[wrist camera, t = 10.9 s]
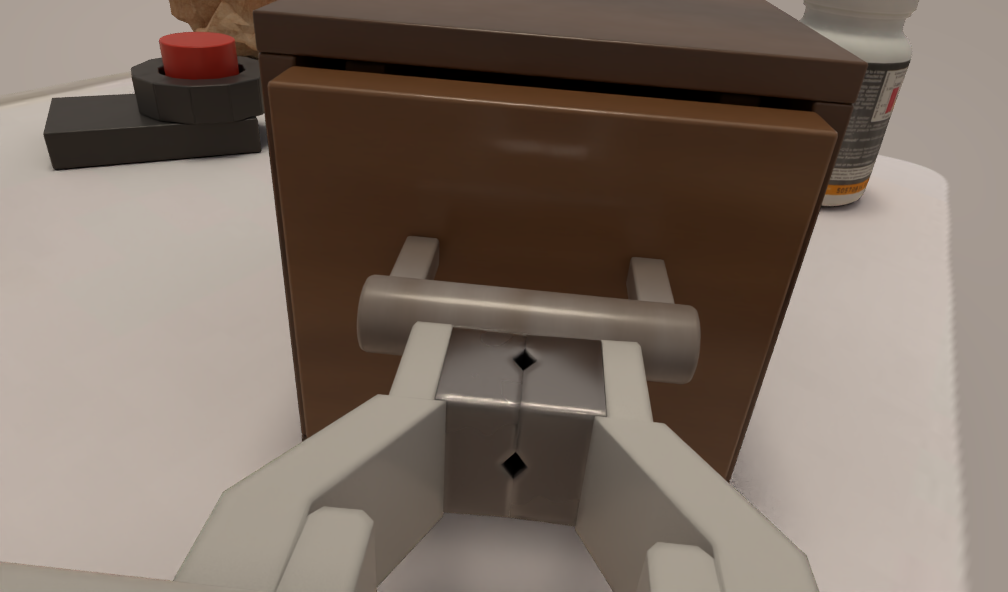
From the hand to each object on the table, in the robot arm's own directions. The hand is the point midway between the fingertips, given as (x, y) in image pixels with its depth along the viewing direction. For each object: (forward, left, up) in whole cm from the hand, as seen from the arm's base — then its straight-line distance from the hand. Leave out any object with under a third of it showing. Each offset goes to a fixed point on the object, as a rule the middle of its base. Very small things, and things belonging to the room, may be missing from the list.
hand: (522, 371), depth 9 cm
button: (-2, +31, -4) cm, 31 cm away
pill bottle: (+25, +16, -7) cm, 31 cm away
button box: (-4, +31, -7) cm, 32 cm away
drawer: (+3, +6, -6) cm, 9 cm away
